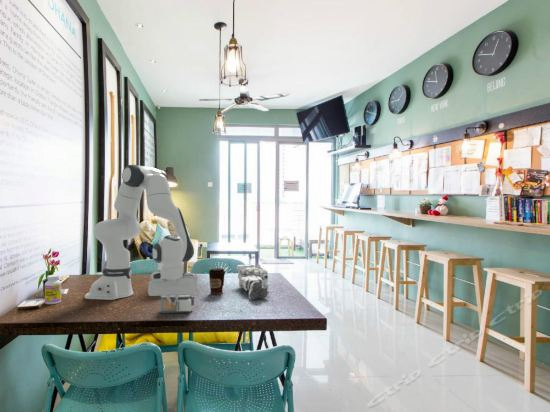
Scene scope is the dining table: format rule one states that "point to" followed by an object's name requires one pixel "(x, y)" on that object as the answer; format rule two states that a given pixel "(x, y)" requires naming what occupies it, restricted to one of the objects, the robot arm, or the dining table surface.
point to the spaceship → (253, 280)
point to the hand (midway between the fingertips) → (172, 305)
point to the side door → (183, 304)
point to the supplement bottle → (53, 290)
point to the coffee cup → (216, 280)
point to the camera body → (173, 309)
